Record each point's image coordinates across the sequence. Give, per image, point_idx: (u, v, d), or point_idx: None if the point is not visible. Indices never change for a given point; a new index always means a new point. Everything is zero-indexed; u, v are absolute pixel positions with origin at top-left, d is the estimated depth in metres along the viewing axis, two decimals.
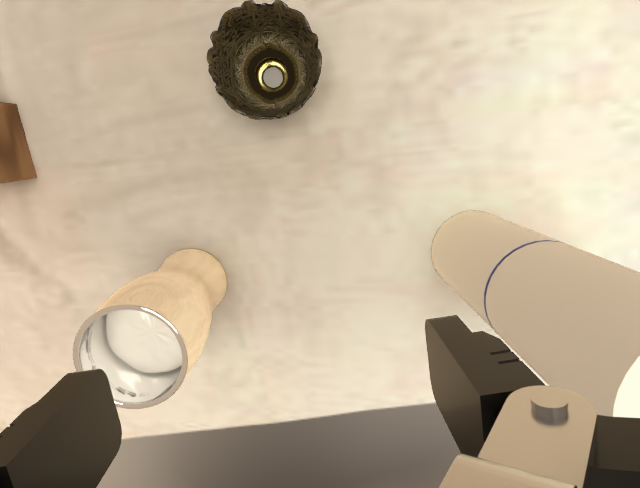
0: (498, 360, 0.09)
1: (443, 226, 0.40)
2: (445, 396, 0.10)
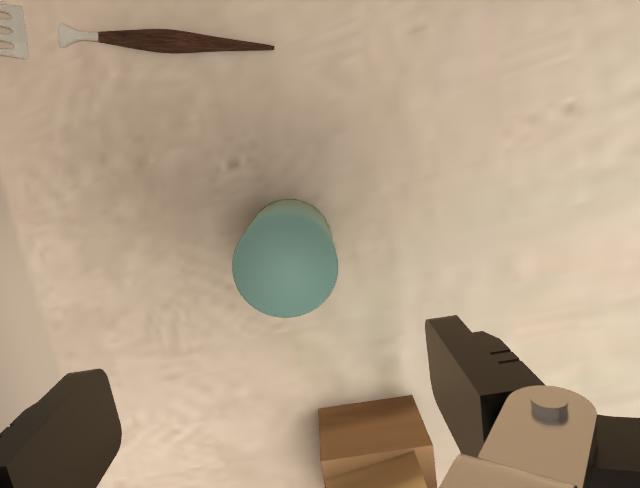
0: (498, 360, 0.09)
1: None
2: (445, 396, 0.10)
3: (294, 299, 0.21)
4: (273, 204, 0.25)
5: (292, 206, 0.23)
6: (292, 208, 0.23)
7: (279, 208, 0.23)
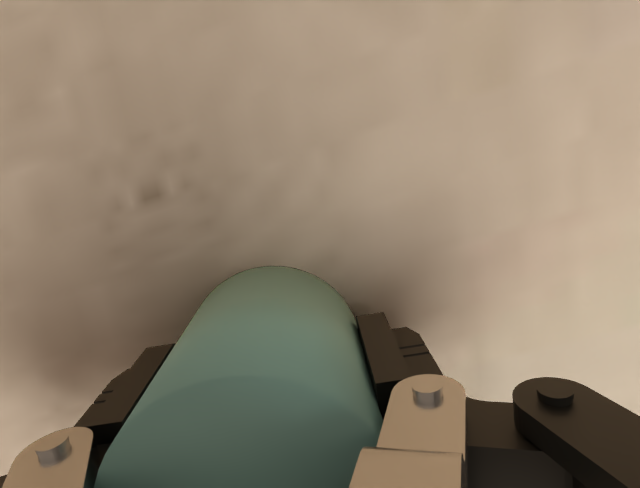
0: (410, 353, 0.10)
1: None
2: None
3: None
4: (236, 283, 0.11)
5: (275, 303, 0.10)
6: (274, 315, 0.09)
7: (241, 314, 0.09)
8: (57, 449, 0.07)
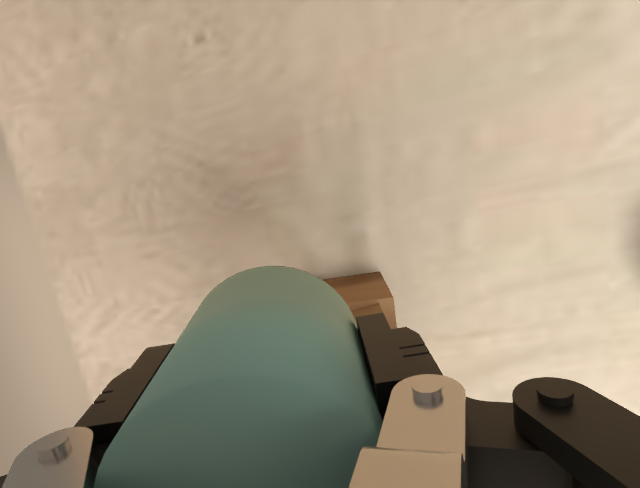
0: (410, 353, 0.10)
1: None
2: None
3: None
4: (235, 283, 0.11)
5: (275, 302, 0.10)
6: (273, 315, 0.09)
7: (241, 314, 0.09)
8: (57, 449, 0.07)
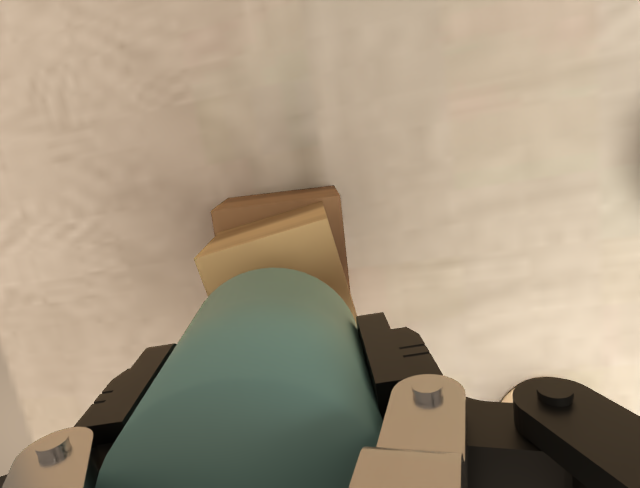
0: (410, 353, 0.10)
1: None
2: None
3: None
4: (236, 285, 0.11)
5: (275, 305, 0.10)
6: (274, 317, 0.09)
7: (242, 316, 0.09)
8: (57, 449, 0.07)
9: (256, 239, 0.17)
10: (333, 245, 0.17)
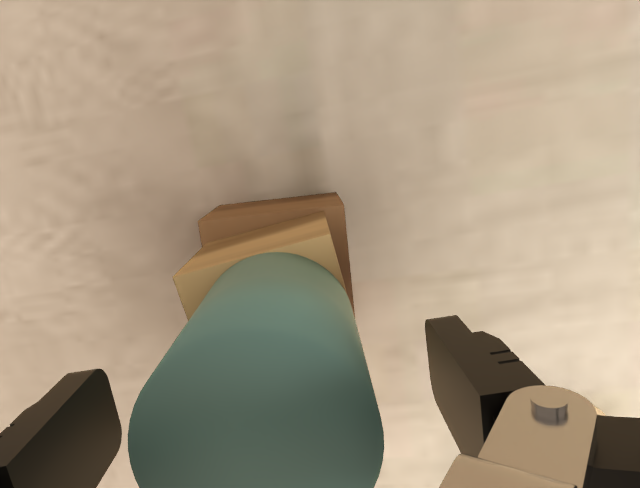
0: (498, 360, 0.09)
1: None
2: (445, 396, 0.10)
3: None
4: (245, 265, 0.13)
5: (280, 280, 0.11)
6: (279, 289, 0.10)
7: (251, 287, 0.11)
8: None
9: (246, 256, 0.14)
10: (336, 265, 0.14)
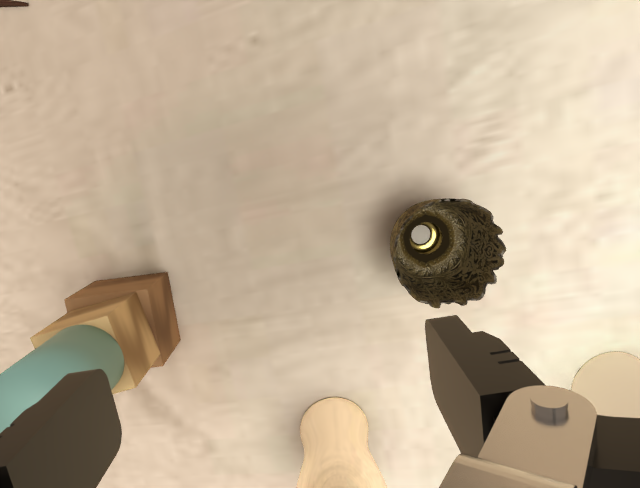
0: (498, 360, 0.09)
1: (585, 369, 0.40)
2: (445, 396, 0.10)
3: None
4: (58, 334, 0.27)
5: (60, 344, 0.25)
6: (53, 349, 0.25)
7: (42, 349, 0.25)
8: None
9: None
10: (112, 331, 0.28)
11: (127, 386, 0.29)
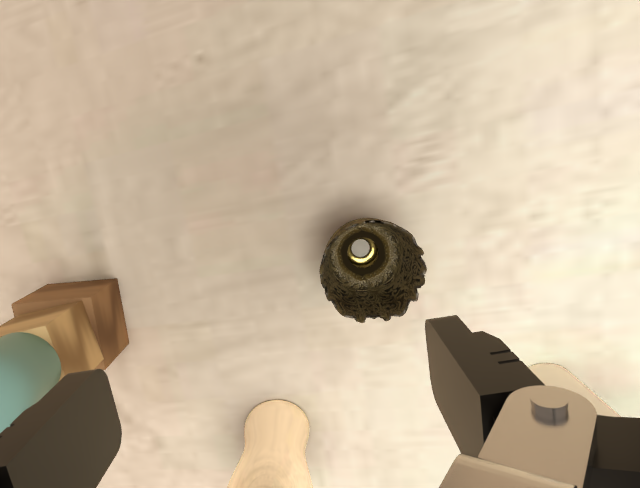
0: (498, 360, 0.09)
1: None
2: (445, 396, 0.10)
3: None
4: None
5: None
6: None
7: None
8: None
9: None
10: (50, 339, 0.30)
11: None
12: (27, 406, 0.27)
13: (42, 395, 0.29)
